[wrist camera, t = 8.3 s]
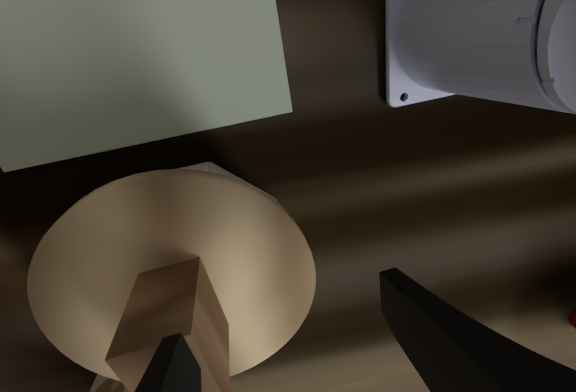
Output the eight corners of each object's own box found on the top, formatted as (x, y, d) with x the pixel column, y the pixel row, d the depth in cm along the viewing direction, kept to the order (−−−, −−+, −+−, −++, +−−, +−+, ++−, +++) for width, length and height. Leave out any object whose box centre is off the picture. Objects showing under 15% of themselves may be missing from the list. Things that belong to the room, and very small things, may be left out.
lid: (286, 136, 14) (322, 182, 9) (325, 332, 20) (357, 421, 15) (-32, 214, 12) (-199, 318, 7) (118, 396, 19) (81, 515, 14)
